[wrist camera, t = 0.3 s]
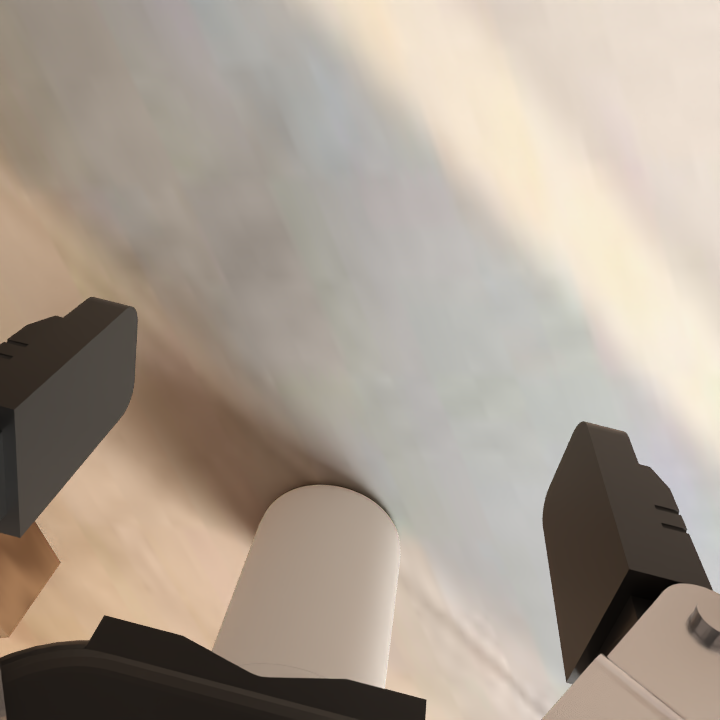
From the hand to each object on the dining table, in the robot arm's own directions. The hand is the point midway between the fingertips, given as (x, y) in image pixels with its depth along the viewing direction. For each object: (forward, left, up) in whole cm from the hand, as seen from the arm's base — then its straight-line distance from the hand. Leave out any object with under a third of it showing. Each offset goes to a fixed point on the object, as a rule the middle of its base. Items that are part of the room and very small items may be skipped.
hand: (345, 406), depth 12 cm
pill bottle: (+21, +1, -18) cm, 27 cm away
